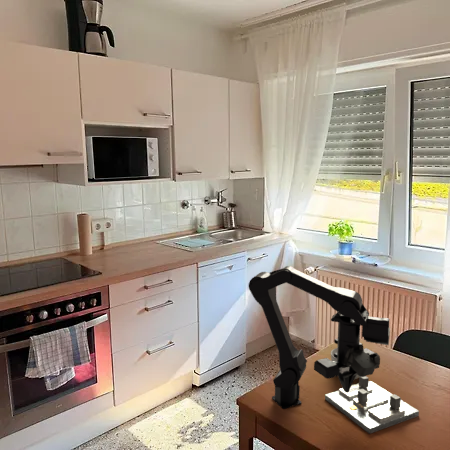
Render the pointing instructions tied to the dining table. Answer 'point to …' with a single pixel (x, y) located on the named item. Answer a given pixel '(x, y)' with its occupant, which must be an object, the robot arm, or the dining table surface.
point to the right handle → (395, 401)
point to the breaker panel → (371, 407)
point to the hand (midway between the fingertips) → (346, 391)
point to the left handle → (363, 382)
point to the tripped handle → (362, 396)
